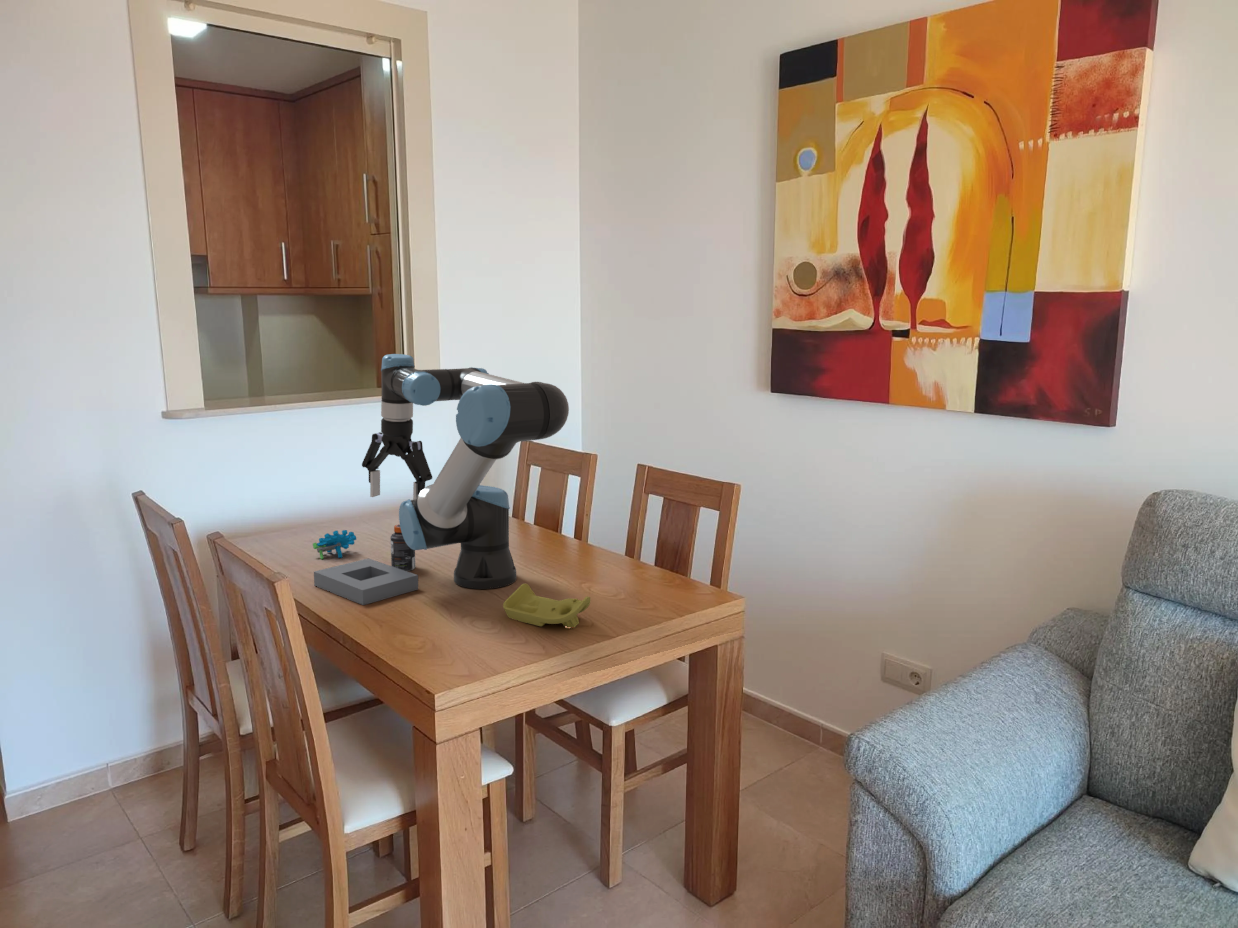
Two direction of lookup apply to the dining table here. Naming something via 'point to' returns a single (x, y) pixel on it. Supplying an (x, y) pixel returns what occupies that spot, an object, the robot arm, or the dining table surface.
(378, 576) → the socket block
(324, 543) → the gear
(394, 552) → the pill bottle
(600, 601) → the dining table surface
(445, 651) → the dining table surface
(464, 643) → the dining table surface
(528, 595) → the plastic component
